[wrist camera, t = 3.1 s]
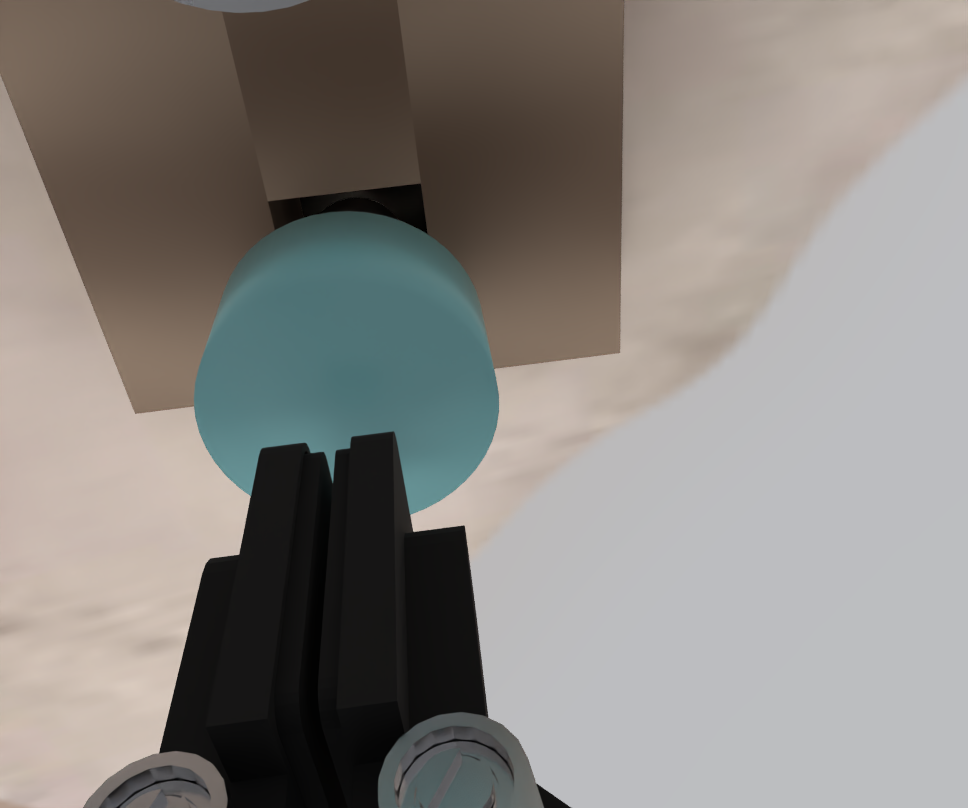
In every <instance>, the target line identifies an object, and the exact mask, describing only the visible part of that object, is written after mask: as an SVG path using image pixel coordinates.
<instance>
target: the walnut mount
mask: <svg viewBox="0 0 968 808" xmlns="http://www.w3.org/2000/svg"><path fill="white" fill-rule="evenodd" d="M623 42H624V0H309V1H306V2H303V3H300V4H297V5H294V6H291V7H287V8H282V9H276V10H271V11H265V12H246V13H233V12H223V11H213V10H207V9H202V8H198V7H194V6H190V5H185V4H181V3H179V2H176V1H173V0H0V74H1V77H2V79H3V82H4V84H5V87H6V89H7V92H8V95H9V97H10V100H11V102H12V105H13V107H14V110H15V112H16V115H17V117H18V120H19V122H20V125H21V127H22V130H23V132H24V135H25V137H26V140H27V142H28V145H29V147H30V150H31V152H32V155H33V157H34V160H35V162H36V165H37V168H38V170H39V173H40V175H41V178H42V180H43V183H44V185H45V188H46V190H47V193H48V195H49V198H50V200H51V203H52V205H53V208H54V210H55V213H56V215H57V218H58V220H59V223H60V225H61V228H62V230H63V233H64V235H65V238H66V241H67V243H68V246H69V248H70V251H71V253H72V256H73V258H74V261H75V263H76V266H77V268H78V271H79V273H80V276H81V278H82V281H83V283H84V286H85V288H86V291H87V293H88V296H89V298H90V301H91V303H92V306H93V308H94V311H95V314H96V316H97V319H98V321H99V324H100V326H101V329H102V331H103V334H104V336H105V339H106V341H107V344H108V346H109V349H110V351H111V354H112V356H113V359H114V361H115V364H116V366H117V369H118V371H119V374H120V376H121V379H122V382H123V384H124V387H125V389H126V392H127V394H128V397H129V399H130V402H131V404H132V407H133V409H134V412H135V414H137V413H145V412H153V411H161V410H169V409H177V408H185V407H192V406H194V390H195V381H196V377H197V373H198V369H199V365H200V362H201V359H202V356H203V353H204V350H205V347H206V344H207V341H208V338H209V335H210V332H211V329H212V326H213V323H214V320H215V317H216V314H217V311H218V307H219V304H220V301H221V298H222V295H223V292H224V290H225V287H226V285H227V282H228V280H229V278H230V276H231V274H232V272H233V271H234V269H235V268H236V266H237V264H238V263H239V261H240V260H241V259H242V258H243V257H244V256H245V254H246V253H247V252H248V251H249V250H250V249H251V248H252V247H253V246H254V245H256V244H257V243H258V242H259V241H260V240H261V239H262V238H264V237H265V236H267V235H269V234H270V233H272V232H273V231H275V230H276V229H278V228H280V227H282V226H284V225H286V224H289V223H291V222H293V221H296V220H299V219H302V218H304V216H303V211H302V207H301V202H300V197H308V196H317V195H325V194H334V193H343V192H351V191H360V190H368V189H377V188H385V187H394V186H402V185H411V184H419V183H421V187H422V195H423V203H424V210H425V218H426V226H427V233H428V235H429V236H431V237H432V238H434V239H435V240H437V241H438V242H439V243H440V244H441V245H443V246H444V247H445V248H446V249H447V250H448V251H449V252H450V253H451V254H452V255H453V256H454V257H455V258H456V259H457V260H458V261H459V263H460V264H461V265H462V267H463V268H464V270H465V271H466V273H467V274H468V276H469V277H470V279H471V281H472V283H473V285H474V287H475V289H476V292H477V295H478V298H479V301H480V304H481V309H482V314H483V319H484V323H485V328H486V333H487V338H488V343H489V348H490V352H491V357H492V362H493V367H494V369H495V368H503V367H511V366H519V365H527V364H535V363H543V362H551V361H559V360H567V359H575V358H583V357H591V356H599V355H607V354H615V353H620V303H621V216H622V129H623Z"/></svg>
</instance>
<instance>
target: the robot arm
mask: <svg viewBox="0 0 968 808" xmlns="http://www.w3.org/2000/svg"><path fill="white" fill-rule="evenodd" d="M83 808H571V807H569V806H568V805H566V804H565V803H563V802H562V801H561V800H559V799H558V798H556V797H555V796H553V795H552V794H551V793H549V792H548V791H546V790H545V789H543V788H542V787H541V786H539V785H538V784H536V782H535V778H534V775H533V772H532V769H531V766H530V764H529V760H528V758H527V756H526V754H525V752H524V750H523V748H522V746H521V744H520V743H519V740H518V739H517V738H516V737H515V736H514V735H513V734H512V733H510V731H509V730H508V729H506V728H505V727H504V726H503V725H502V724H500V723H498V722H496V721H493V720H491V719H489V718H488V711H487V703H486V694H485V686H484V677H483V669H482V660H481V652H480V644H479V635H478V626H477V618H476V610H475V601H474V593H473V586H472V577H471V570H470V562H469V554H468V547H467V539H466V532H465V526H457V527H450V528H442V529H434V530H427V531H419V532H413V528H412V523H411V517H410V511H409V506H408V500H407V495H406V489H405V484H404V478H403V473H402V467H401V461H400V456H399V450H398V445H397V440H396V435H395V432H394V431H392V432H384V433H376V434H368V435H360V436H352V437H351V442H350V448H348V449H340V450H336V453H335V463H334V476H333V482H332V478H331V474H330V470H329V466H328V462H327V458H326V455H325V453H324V452H316V453H310V449H309V447H308V445H307V444H306V443H297V444H289V445H281V446H273V447H265V448H262V449H261V450H260V453H259V457H258V462H257V468H256V473H255V478H254V483H253V488H252V493H251V498H250V503H249V508H248V513H247V518H246V524H245V529H244V534H243V539H242V544H241V549H240V554H239V555H234V556H227V557H219V558H211V559H210V560H209V561H208V562H207V563H206V565H205V568H204V571H203V573H202V577H201V581H200V586H199V590H198V594H197V598H196V602H195V606H194V610H193V615H192V619H191V623H190V627H189V631H188V635H187V640H186V644H185V648H184V652H183V656H182V660H181V664H180V669H179V673H178V677H177V681H176V685H175V689H174V694H173V698H172V702H171V706H170V710H169V714H168V718H167V723H166V727H165V731H164V735H163V739H162V743H161V748H160V752H159V754H153V755H150V756H148V757H145V758H143V759H140V760H138V761H135V762H133V763H131V764H129V765H127V766H126V767H124V768H123V769H121V770H120V771H118V772H117V773H116V774H114V775H113V776H111V777H110V778H108V779H107V780H106V781H105V782H104V783H103V784H102V785H101V786H100V787H99V788H98V789H97V790H96V791H95V793H94V794H93V795H92V796H91V797H90V798H89V799H88V800H87V802H86V804H85V805H84V807H83Z"/></svg>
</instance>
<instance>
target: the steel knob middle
mask: <svg viewBox="0 0 968 808" xmlns="http://www.w3.org/2000/svg"><path fill="white" fill-rule="evenodd" d="M173 1H176V2H179V3H181V4H185V5H190V6H194V7H198V8H202V9H207V10H213V11H223V12H233V13H246V12H265V11H271V10H276V9H282V8H287V7H291V6H294V5H297V4H300V3H303V2H306V1H309V0H173Z"/></svg>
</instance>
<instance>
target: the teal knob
mask: <svg viewBox="0 0 968 808" xmlns="http://www.w3.org/2000/svg"><path fill="white" fill-rule="evenodd" d="M194 408H195V417H196V421H197V425H198V429H199V433H200V435H201V437H202V439H203V442H204V444H205V446H206V448H207V450H208V452H209V453H210V455H211V457H212V458H213V460H214V461H215V463H216V464H217V465H218V466H219V468H220V469H221V470H222V471H223V472H224V474H225V475H226V476H227V477H228V478H229V479H230V480H231V481H233V482H234V483H235V484H236V485H237V486H238V487H239V488H240V489H242V490H243V491H244V492H246V493H247V494H249V495H250V496H251V493H252V488H253V483H254V478H255V473H256V468H257V462H258V457H259V453H260V450H261V449H262V448H265V447H273V446H281V445H289V444H297V443H306V444H307V445H308V447H309V449H310V453H316V452H324V453H325V455H326V458H327V462H328V466H329V470H330V474H331V478H332V482H333V476H334V463H335V453H336V450H340V449H348V448H350V442H351V437H352V436H360V435H368V434H376V433H384V432H392V431H394V432H395V435H396V440H397V445H398V450H399V456H400V461H401V467H402V473H403V478H404V484H405V489H406V495H407V500H408V506H409V511H410V515H411V514H413V513H416V512H418V511H421V510H423V509H425V508H427V507H429V506H431V505H433V504H435V503H437V502H439V501H440V500H442V499H443V498H445V497H446V496H447V495H449V494H450V493H452V492H453V491H454V490H456V489H457V488H458V487H459V486H460V485H461V484H462V483H463V482H465V481H466V480H467V478H468V477H469V476H470V475H471V474H472V473H473V472H474V471H475V469H476V468H477V467H478V465H479V464H480V462H481V461H482V459H483V458H484V456H485V455H486V452H487V450H488V448H489V446H490V444H491V442H492V439H493V436H494V433H495V430H496V426H497V420H498V413H499V394H498V388H497V382H496V377H495V372H494V367H493V362H492V357H491V352H490V348H489V343H488V338H487V333H486V328H485V323H484V319H483V314H482V309H481V304H480V301H479V298H478V295H477V292H476V289H475V287H474V285H473V283H472V281H471V279H470V277H469V276H468V274H467V273H466V271H465V270H464V268H463V267H462V265H461V264H460V263H459V261H458V260H457V259H456V258H455V257H454V256H453V255H452V254H451V253H450V252H449V251H448V250H447V249H446V248H445V247H444V246H443V245H441V244H440V243H439V242H438V241H437V240H435V239H434V238H432V237H431V236H429V235H428V234H426V233H424V232H423V231H421V230H420V229H418V228H415V227H413V226H411V225H409V224H407V223H405V222H402V221H399V220H398V219H397V217H396V216H395V215H394V214H393V213H392V211H390V210H389V209H388V208H387V207H385V206H384V205H382V204H380V203H378V202H376V201H373V200H370V199H366V198H347V199H343V200H340V201H337V202H335V203H333V204H331V205H330V206H328V207H327V208H326V209H325V210H323V212H322V213H321V214H317V215H312V216H308V217H305V218H302V219H299V220H296V221H293V222H291V223H289V224H286V225H284V226H282V227H280V228H278V229H276V230H275V231H273V232H272V233H270V234H269V235H267V236H265V237H264V238H262V239H261V240H260V241H259V242H258V243H257V244H256V245H254V246H253V247H252V248H251V249H250V250H249V251H248V252H247V253H246V254H245V256H244V257H243V258H242V259H241V260H240V261H239V263H238V264H237V266H236V268H235V269H234V271H233V272H232V274H231V276H230V278H229V280H228V282H227V285H226V287H225V290H224V292H223V295H222V298H221V301H220V304H219V307H218V311H217V314H216V317H215V320H214V323H213V326H212V329H211V332H210V335H209V338H208V341H207V344H206V347H205V350H204V353H203V356H202V359H201V362H200V365H199V369H198V373H197V377H196V381H195V390H194Z"/></svg>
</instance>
